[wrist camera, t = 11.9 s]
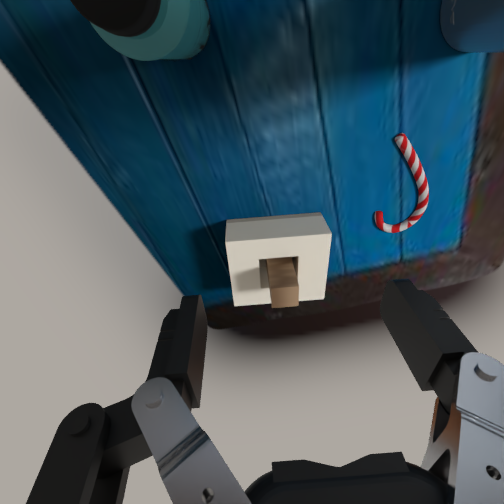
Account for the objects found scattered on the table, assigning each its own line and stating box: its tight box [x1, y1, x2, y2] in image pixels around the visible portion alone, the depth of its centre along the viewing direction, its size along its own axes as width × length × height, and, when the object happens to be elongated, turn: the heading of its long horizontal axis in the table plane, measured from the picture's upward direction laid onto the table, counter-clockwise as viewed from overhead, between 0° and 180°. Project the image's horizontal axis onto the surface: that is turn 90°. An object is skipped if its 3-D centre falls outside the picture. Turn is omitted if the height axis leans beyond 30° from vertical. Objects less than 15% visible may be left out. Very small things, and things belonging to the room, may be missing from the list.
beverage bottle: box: [70, 0, 211, 62], centre depth 20 cm, size 6×7×20 cm
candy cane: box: [375, 133, 429, 233], centre depth 40 cm, size 8×1×15 cm
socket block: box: [225, 212, 332, 306], centre depth 43 cm, size 14×12×6 cm
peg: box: [265, 257, 299, 308], centre depth 40 cm, size 4×4×10 cm
